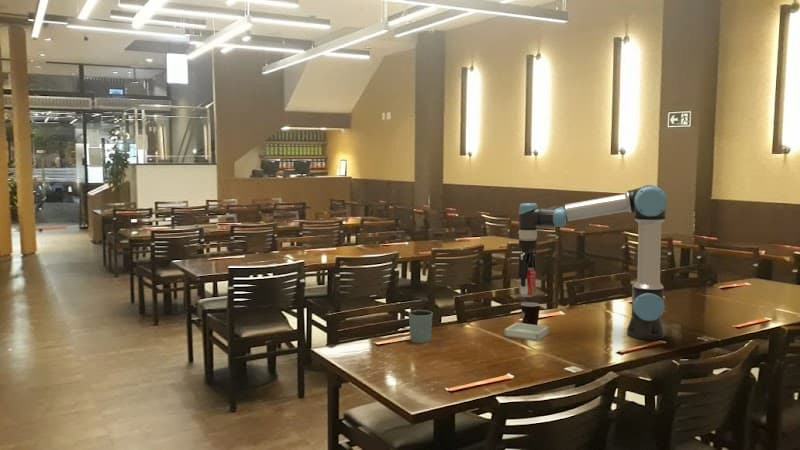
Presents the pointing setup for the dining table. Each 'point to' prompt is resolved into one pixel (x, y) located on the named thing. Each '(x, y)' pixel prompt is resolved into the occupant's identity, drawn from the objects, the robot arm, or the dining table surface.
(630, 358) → the dining table surface
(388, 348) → the dining table surface
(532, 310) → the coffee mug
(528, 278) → the soda can
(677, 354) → the dining table surface
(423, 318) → the blue-grey cup
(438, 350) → the dining table surface
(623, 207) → the robot arm
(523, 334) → the tray
